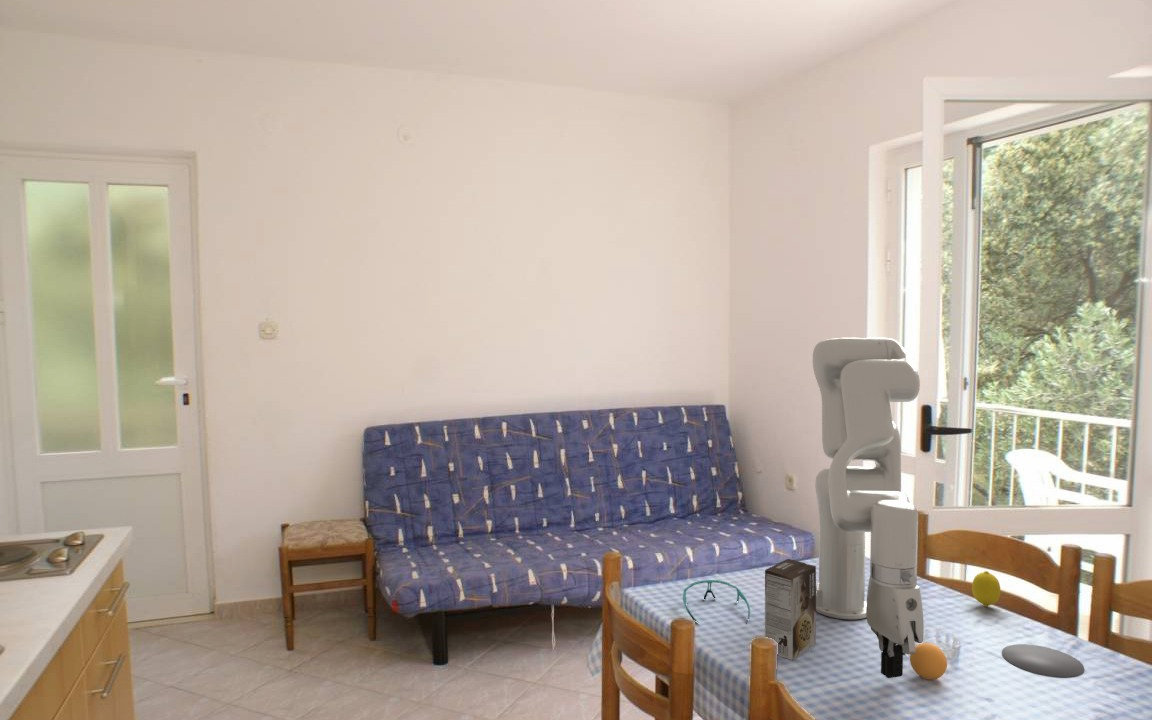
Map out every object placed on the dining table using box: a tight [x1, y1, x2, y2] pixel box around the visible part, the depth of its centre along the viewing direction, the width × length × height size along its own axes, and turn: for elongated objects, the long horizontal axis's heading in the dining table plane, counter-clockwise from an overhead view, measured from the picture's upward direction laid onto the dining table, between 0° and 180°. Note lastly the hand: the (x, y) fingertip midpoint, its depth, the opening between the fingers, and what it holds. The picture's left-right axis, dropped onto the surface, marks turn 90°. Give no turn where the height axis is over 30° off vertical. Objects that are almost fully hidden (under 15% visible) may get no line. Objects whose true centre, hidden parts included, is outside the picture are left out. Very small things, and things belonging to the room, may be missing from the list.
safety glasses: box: [682, 579, 751, 622], centre depth 163 cm, size 14×15×5 cm
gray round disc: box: [1001, 643, 1085, 678], centre depth 139 cm, size 13×13×1 cm
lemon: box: [971, 570, 1001, 608], centre depth 164 cm, size 6×6×8 cm
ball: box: [909, 642, 948, 680], centre depth 132 cm, size 6×6×6 cm
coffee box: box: [764, 558, 817, 661], centre depth 144 cm, size 9×6×16 cm
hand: (891, 674), depth 130 cm, fingers closed
